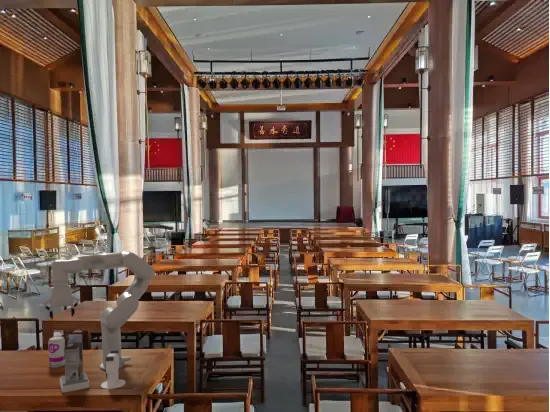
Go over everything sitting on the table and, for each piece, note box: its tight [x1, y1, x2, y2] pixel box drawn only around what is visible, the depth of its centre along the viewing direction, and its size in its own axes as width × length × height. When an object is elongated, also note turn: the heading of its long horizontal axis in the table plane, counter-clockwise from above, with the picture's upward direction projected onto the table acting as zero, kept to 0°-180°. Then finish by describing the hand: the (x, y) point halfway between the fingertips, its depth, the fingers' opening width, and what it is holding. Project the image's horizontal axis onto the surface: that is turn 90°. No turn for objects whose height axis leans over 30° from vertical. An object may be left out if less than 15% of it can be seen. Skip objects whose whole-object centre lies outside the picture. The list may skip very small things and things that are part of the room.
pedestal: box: [59, 371, 90, 393], centre depth 244 cm, size 12×12×4 cm
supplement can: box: [47, 335, 66, 369], centre depth 275 cm, size 8×8×15 cm
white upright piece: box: [100, 351, 126, 390], centre depth 245 cm, size 12×11×15 cm
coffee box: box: [64, 341, 84, 381], centre depth 244 cm, size 9×6×16 cm
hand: (62, 317), depth 257 cm, fingers open, 9 cm apart
